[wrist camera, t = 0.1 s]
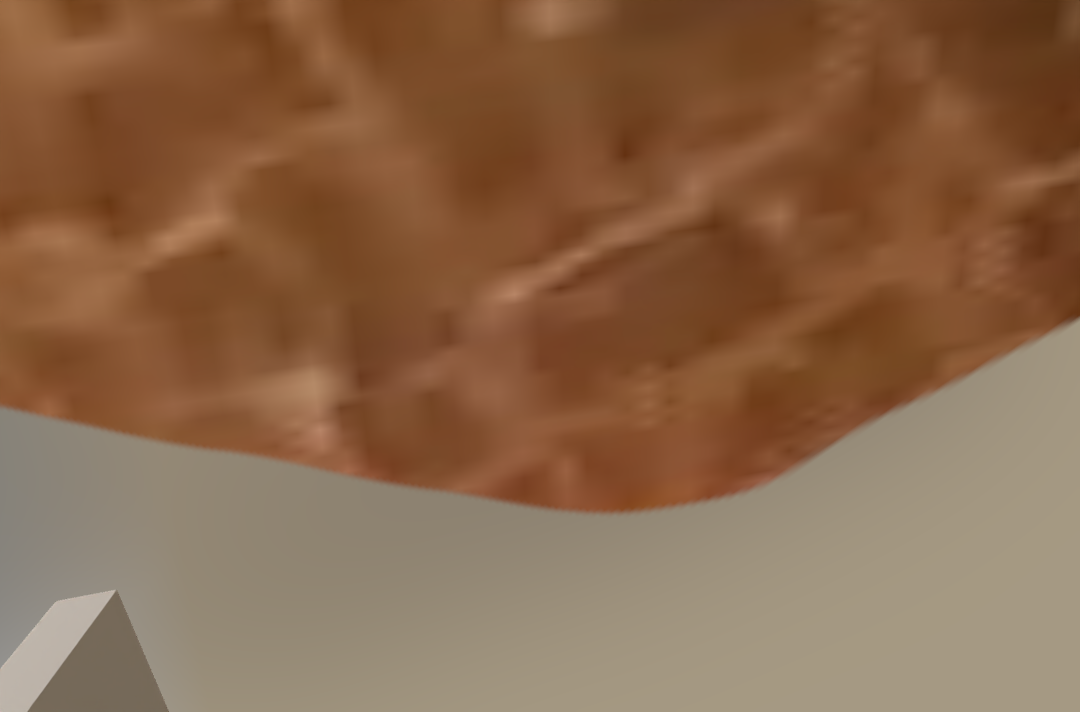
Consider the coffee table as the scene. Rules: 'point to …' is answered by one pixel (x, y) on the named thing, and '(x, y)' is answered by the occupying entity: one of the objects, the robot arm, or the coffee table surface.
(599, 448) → the coffee table surface
